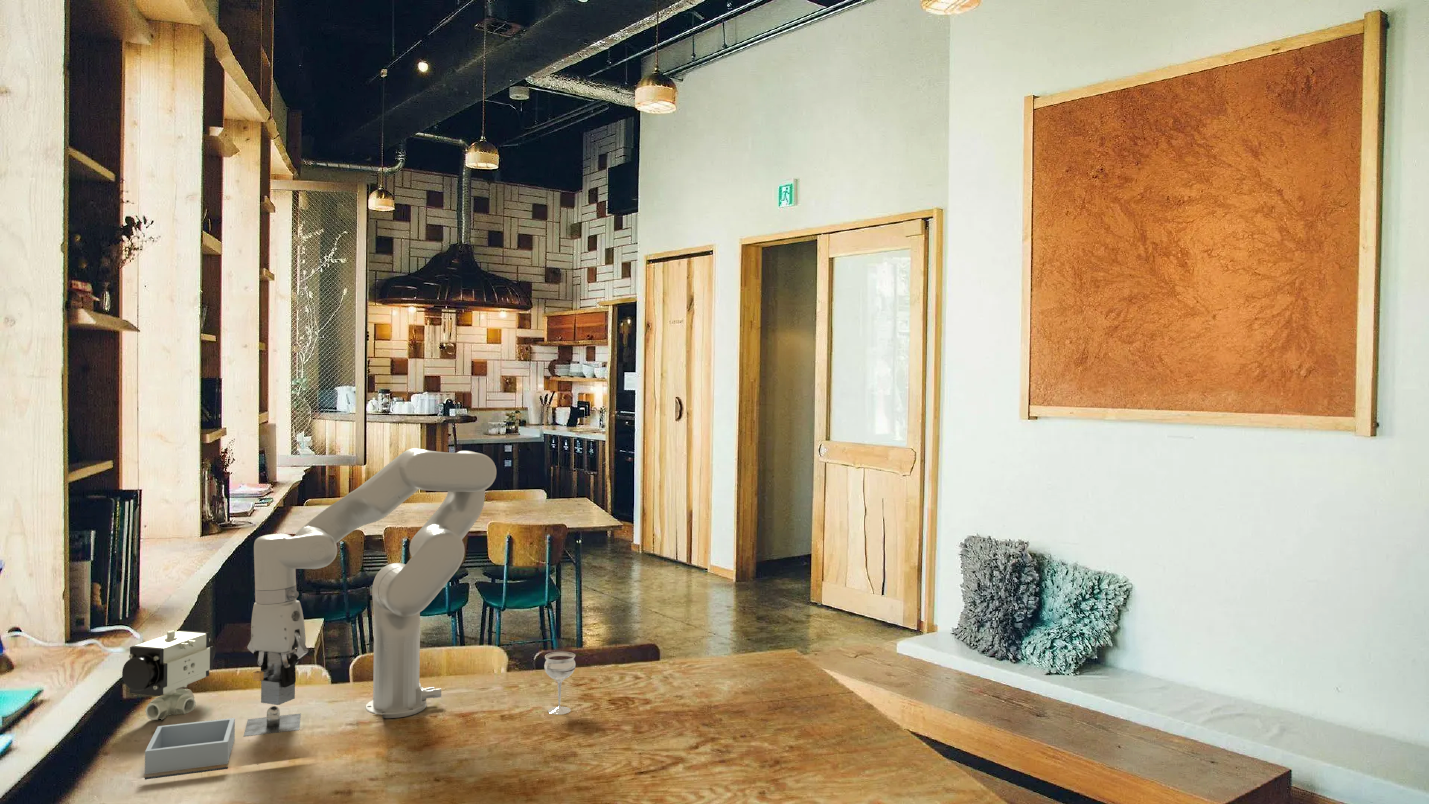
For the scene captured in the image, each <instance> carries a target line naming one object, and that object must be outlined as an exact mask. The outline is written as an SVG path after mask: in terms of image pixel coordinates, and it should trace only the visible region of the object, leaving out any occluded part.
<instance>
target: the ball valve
mask: <svg viewBox="0 0 1429 804" xmlns="http://www.w3.org/2000/svg"><path fill="white" fill-rule="evenodd" d="M215 656H216V646H215V643H214V642H213V640H212V639H211V638H210V632H207V631H196V630H195V631H193V630H183V629H182V630H178V631H175V630H169V631H166V634H165V635H164V636H160V637H157V638H154V639H151V640H148V641H145V642H142V643H139V644H136V645H132V646H130V647H129V655H128V658H129V659H128V660H127V661H126V662H125V663H124V665H123V667H122V673H121V676H122V680H123V682H124V684H125V686H126V687H127V688H128V689H129V694H134V695H148V696H157V697H156V698H155V697H154V699H152V700H151V701H150V702H148V704H147V705H146V707H145V710H144V712H145V715H146V717H147V718H148V719H149V720H152V721H159V720H158V719H161V720H160V721H162V720H165V718H166V717H168V716H170V715H176V716H177V715H186V714H189V713H190V712H193V711H194V710H195V706H196V704H197V702H196V700H195V695H194V693H193V691H192V690H191V689H188V688H187V687H188V685H190V684H192V683H195V682H197V681H200V680H202V679H204V678H207V677H210V670H212V669H214V658H215Z"/></svg>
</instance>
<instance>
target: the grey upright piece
mask: <svg viewBox="0 0 1429 804" xmlns="http://www.w3.org/2000/svg"><path fill="white" fill-rule="evenodd" d="M266 654H267V669H265V670H262V671H261V670H256V671H254V672H253V673H252V675H253V677H252V681H256V682H260V685H261V687H260V688H261V690H260V703H262V704H267V705H269V704H270V705H273V706H279V705H283V704H285V703H288V702H289V701H293V700H295V698H296V695H295V694H296V683H295V684H292V685H290V686H288V687H286V688H284V687H282V677H281V669H282V668H283V667H284V665H283V660H282V656H281V653H276V652H267V653H266ZM288 656H289V659H290V654H288ZM266 677H267V679H264V678H266Z"/></svg>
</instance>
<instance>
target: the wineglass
mask: <svg viewBox="0 0 1429 804" xmlns="http://www.w3.org/2000/svg"><path fill="white" fill-rule="evenodd" d="M575 657H576V654H575V653H573V652H569V651H552V652H549V653H547V654H545V655H544V659H545V662H544V665H543V666H544V671H545V674H546V675H547V676H548V677H549V678H551V679H552V680H555V681H556V682H557V697H558V700H557V701H558V702H557V703H558V706H555V707H550V708H549V709H547V712H548V713H549V714H551V715H566V714H569V713H570V712H571V710H572V709H571V708H569V707H567V706H561V702H562V699H561V697H562V696H561V695H562V683H563V682H564V680H566V679H568V678H569V677H570V676H571V675H572V674H573V673H574V672H575V669H576V665H577V664H576V661H575Z"/></svg>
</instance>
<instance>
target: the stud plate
mask: <svg viewBox="0 0 1429 804" xmlns="http://www.w3.org/2000/svg"><path fill="white" fill-rule="evenodd" d="M301 715H302V713H293V714H285V715H284V714H283V715H281V710H280V707H278V706H277V705H272V706H270V707H268V709H267V710H266V717H265V716H264V717H256V718H247V721H246V725H245V729H244V733H243V737H249V736H250V737H253V736H260V735H269V734H270V735H271V734H277V733H286V732H287V733H288V732H295V731H299V730H300V726H301V717H302V716H301Z"/></svg>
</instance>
